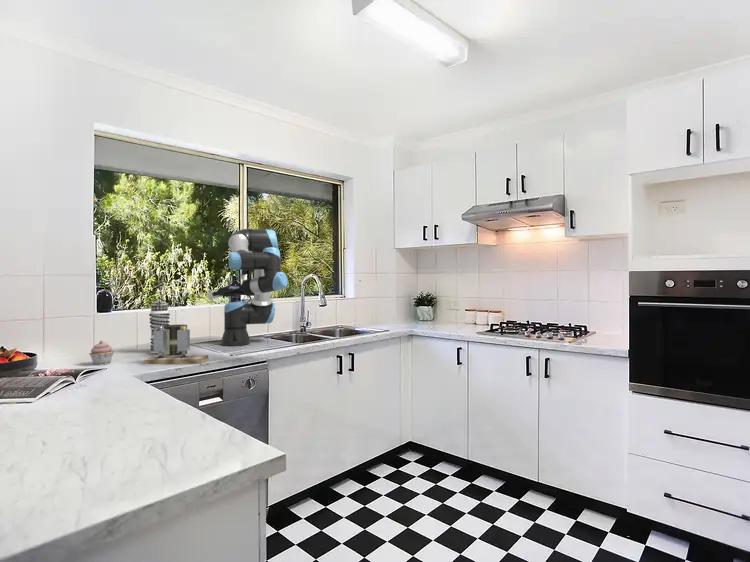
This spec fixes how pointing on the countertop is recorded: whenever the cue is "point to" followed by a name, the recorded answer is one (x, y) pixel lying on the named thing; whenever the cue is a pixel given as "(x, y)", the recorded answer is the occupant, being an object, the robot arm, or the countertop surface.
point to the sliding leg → (183, 340)
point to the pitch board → (176, 359)
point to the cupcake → (101, 353)
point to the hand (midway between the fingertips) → (208, 296)
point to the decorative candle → (158, 318)
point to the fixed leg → (159, 341)
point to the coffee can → (172, 340)
